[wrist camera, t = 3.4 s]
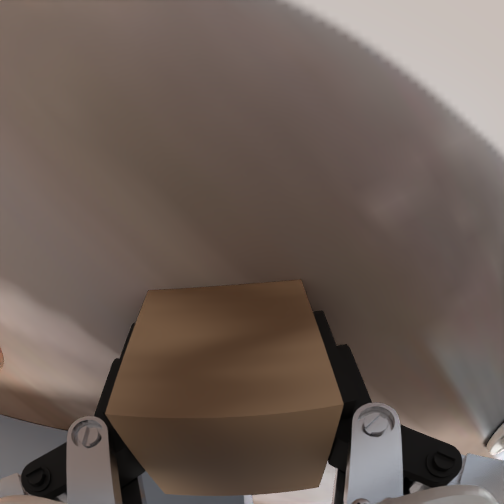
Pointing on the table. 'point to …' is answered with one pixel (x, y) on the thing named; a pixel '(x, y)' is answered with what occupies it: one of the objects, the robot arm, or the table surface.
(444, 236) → the table surface
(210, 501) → the tote
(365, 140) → the table surface
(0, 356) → the peach rounded cylinder
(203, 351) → the walnut cube
